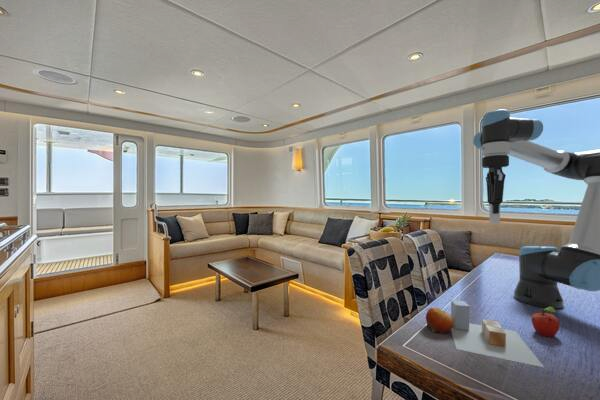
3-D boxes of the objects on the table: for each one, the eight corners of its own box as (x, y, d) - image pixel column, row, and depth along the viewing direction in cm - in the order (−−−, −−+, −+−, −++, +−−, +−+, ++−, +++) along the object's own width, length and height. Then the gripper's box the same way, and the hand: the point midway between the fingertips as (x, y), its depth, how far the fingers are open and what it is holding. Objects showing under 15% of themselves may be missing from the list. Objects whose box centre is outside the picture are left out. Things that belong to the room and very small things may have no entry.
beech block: (506, 348, 72) (497, 334, 79) (506, 334, 72) (497, 321, 79) (488, 344, 74) (481, 331, 81) (489, 330, 74) (482, 319, 81)
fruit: (415, 320, 86) (427, 300, 86) (434, 331, 86) (445, 311, 87) (429, 333, 78) (442, 310, 78) (450, 345, 78) (462, 322, 79)
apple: (524, 329, 83) (524, 299, 83) (543, 329, 83) (543, 298, 83) (548, 343, 75) (549, 309, 75) (569, 342, 76) (570, 309, 76)
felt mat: (515, 332, 81) (515, 331, 81) (544, 369, 64) (544, 367, 64) (447, 320, 89) (447, 319, 89) (456, 350, 71) (456, 349, 71)
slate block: (464, 325, 85) (464, 301, 85) (469, 331, 81) (469, 306, 81) (451, 323, 86) (451, 300, 86) (455, 329, 82) (455, 305, 82)
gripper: (478, 159, 97) (477, 220, 97) (487, 153, 85) (486, 224, 85) (502, 158, 94) (501, 221, 94) (515, 152, 82) (514, 225, 82)
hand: (494, 222), depth 89 cm, fingers closed
